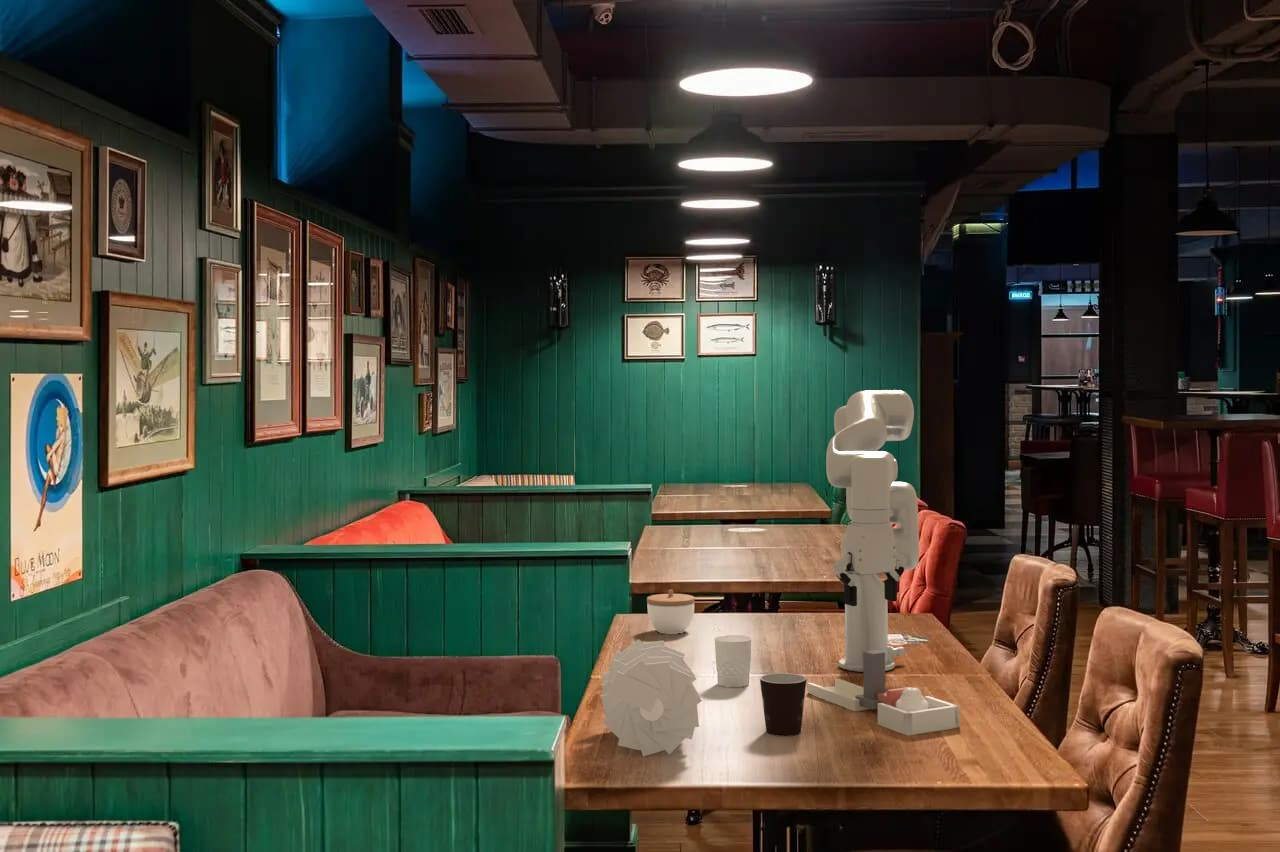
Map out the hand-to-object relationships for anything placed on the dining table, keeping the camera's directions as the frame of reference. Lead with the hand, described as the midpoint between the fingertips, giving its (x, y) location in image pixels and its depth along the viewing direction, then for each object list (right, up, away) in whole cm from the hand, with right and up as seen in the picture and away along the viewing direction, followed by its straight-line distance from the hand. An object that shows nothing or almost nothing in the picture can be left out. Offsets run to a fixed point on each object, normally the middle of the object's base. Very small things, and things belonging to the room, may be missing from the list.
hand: (870, 602), depth 256 cm
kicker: (+1, -20, -5) cm, 20 cm away
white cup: (-26, -21, +22) cm, 40 cm away
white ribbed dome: (+6, -21, -12) cm, 25 cm away
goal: (+6, -21, -14) cm, 26 cm away
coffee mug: (-19, -22, -16) cm, 33 cm away
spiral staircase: (-44, -22, -23) cm, 55 cm away
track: (-4, -21, +6) cm, 22 cm away
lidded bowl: (-38, -19, +83) cm, 93 cm away
